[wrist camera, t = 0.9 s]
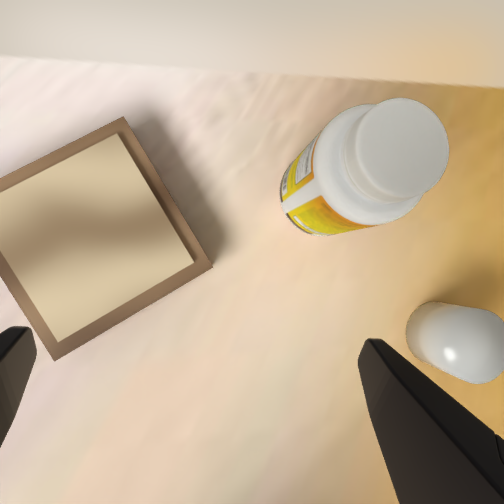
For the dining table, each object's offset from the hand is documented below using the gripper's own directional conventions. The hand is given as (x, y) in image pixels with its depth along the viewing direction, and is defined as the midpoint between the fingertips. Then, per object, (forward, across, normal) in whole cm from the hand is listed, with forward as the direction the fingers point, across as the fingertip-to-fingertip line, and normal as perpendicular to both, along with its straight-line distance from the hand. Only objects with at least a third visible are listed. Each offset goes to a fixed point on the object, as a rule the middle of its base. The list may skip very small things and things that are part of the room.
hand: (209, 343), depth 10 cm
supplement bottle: (+15, -7, +1) cm, 17 cm away
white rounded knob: (+10, -16, +9) cm, 21 cm away
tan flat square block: (+13, +6, +4) cm, 15 cm away
